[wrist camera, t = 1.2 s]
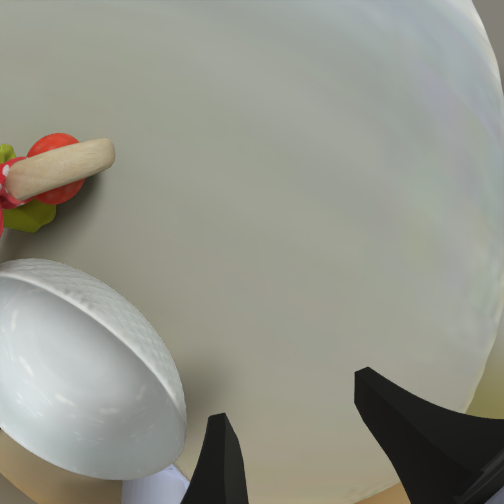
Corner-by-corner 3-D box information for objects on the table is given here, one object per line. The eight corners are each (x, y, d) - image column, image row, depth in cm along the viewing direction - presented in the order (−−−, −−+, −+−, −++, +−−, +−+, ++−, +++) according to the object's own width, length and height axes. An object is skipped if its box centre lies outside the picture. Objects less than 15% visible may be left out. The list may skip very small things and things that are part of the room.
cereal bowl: (235, 357, 20) (251, 430, 13) (111, 438, 21) (100, 494, 14) (62, 181, 15) (-6, 195, 8) (-22, 322, 16) (-62, 364, 9)
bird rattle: (97, 114, 16) (-18, 159, 11) (118, 28, 6) (-100, 126, 2) (116, 200, 18) (2, 247, 13) (150, 201, 8) (-71, 299, 4)
